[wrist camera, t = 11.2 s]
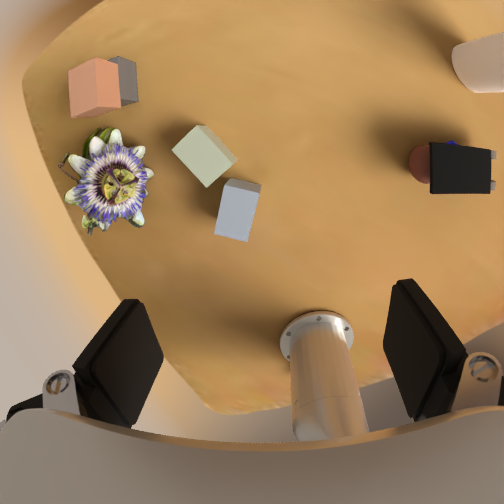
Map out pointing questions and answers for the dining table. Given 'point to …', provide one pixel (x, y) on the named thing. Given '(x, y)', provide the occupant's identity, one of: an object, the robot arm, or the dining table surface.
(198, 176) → the sage brick
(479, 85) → the cup
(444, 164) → the figurine character
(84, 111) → the terracotta brick
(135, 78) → the charcoal brick
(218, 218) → the slate-blue brick
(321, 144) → the dining table surface
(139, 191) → the passion flower
